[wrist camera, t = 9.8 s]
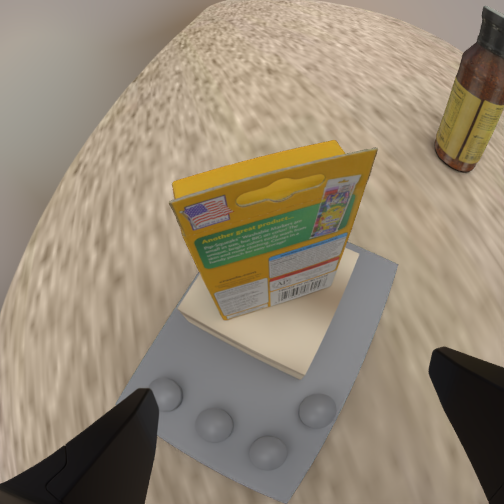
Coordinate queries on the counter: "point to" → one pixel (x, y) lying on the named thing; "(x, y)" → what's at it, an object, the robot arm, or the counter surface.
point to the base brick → (274, 322)
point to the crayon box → (271, 223)
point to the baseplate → (261, 389)
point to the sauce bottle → (474, 97)
